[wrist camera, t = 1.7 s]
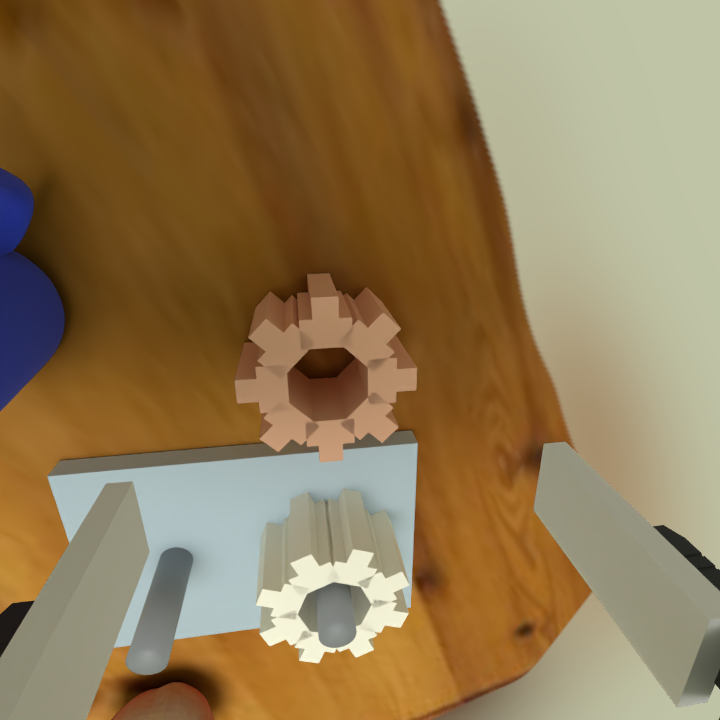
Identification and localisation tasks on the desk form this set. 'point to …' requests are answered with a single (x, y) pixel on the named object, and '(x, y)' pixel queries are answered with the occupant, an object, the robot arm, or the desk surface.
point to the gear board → (232, 529)
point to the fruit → (167, 704)
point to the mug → (23, 296)
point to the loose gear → (324, 395)
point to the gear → (329, 572)
